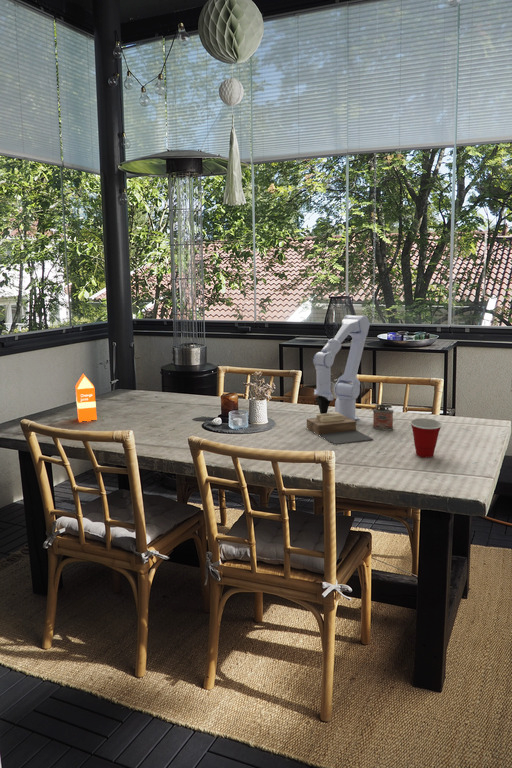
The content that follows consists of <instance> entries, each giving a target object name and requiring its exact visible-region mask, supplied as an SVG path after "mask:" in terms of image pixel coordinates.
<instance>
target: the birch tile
mask: <svg viewBox="0 0 512 768" xmlns="http://www.w3.org/2000/svg"><path fill="white" fill-rule="evenodd" d="M316 418H317V419H318V420H319V421H321V422H331V421H340V420H344V415H342V414H340V413H338V412H335V411H334V412H333V411H332V412H327V413H323V414H321V413H317V414H316Z"/></svg>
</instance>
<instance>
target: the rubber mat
mask: <svg viewBox="0 0 512 768" xmlns="http://www.w3.org/2000/svg"><path fill="white" fill-rule="evenodd" d="M319 435H320V436H321V437H320V436H319ZM319 435H318V436H319V437H320V438H322V437H323V438H322V439H324V438H325V439H326V441H327V440H328V441H327V442H329V441H330V442H329V443H330V444H332V443H333V445H334V444H339V445H345V444H346V443H347V444H354V443H355V444H356V443H361V442H363V443H364V442H370V441H374V438H372V437H370V436H368V435H367V434H364V433H363V432H361V431H359V430H357V429H356V430H353V431H344V432H336V433H327V434H319ZM325 439H324V440H325Z"/></svg>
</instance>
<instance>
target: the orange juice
mask: <svg viewBox="0 0 512 768" xmlns="http://www.w3.org/2000/svg"><path fill="white" fill-rule="evenodd" d="M75 400H76V408H77V409H76V410H77V419H78V423H83V422H82V421H87V422H92V421H91V420H98V416H97V406H96V405H97V402H96V390H95V385H94V384H93V382H91V380H89V379H88V377H87V376H86V375H85V374H84V373H82V375H81V376H80V378H78V381H77V382H76V384H75Z"/></svg>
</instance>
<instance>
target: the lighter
mask: <svg viewBox="0 0 512 768" xmlns="http://www.w3.org/2000/svg"><path fill="white" fill-rule="evenodd" d="M375 407H376V408H373V410H372V413H373V414H372V415H373V420H372V421H373V425H372V428H373V429H374V428H375V430H386V429H387V430H388V429H391V430H393V429H394V426H393V425H394V424H393V423H394V419H393V416H394V409H392V408H393V407H392V404H390V403H389V404H388V403H386V404H384V403H381V404H378V403H376V405H375ZM388 431H389V430H388Z"/></svg>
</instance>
